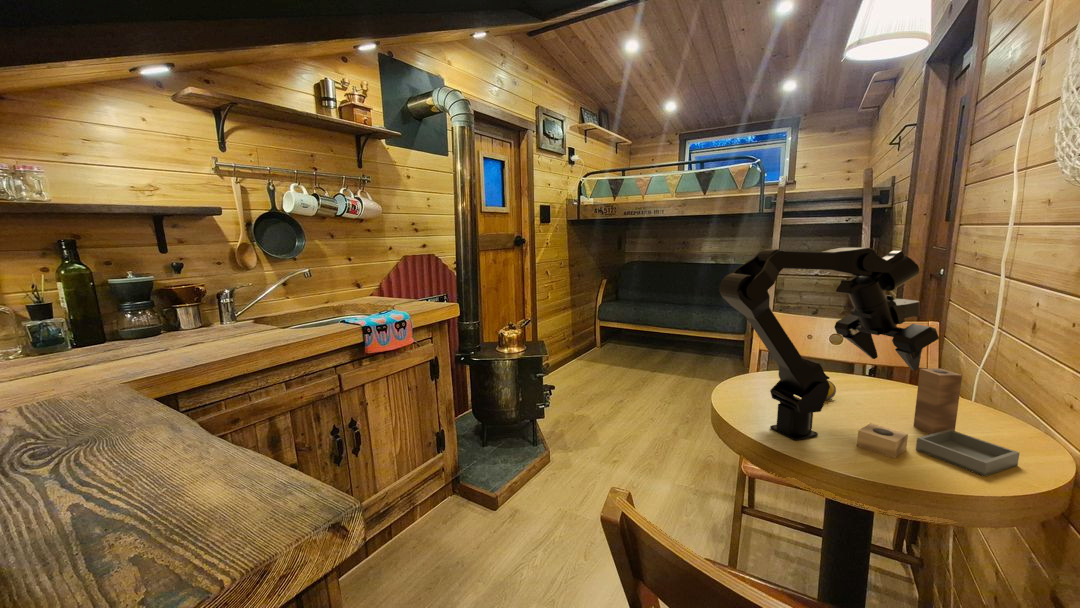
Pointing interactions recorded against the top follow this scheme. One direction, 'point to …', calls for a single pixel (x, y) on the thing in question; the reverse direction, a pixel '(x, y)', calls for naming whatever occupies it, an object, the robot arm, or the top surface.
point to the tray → (968, 452)
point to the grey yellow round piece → (831, 391)
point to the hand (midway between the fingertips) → (894, 363)
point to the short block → (882, 440)
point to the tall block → (937, 400)
